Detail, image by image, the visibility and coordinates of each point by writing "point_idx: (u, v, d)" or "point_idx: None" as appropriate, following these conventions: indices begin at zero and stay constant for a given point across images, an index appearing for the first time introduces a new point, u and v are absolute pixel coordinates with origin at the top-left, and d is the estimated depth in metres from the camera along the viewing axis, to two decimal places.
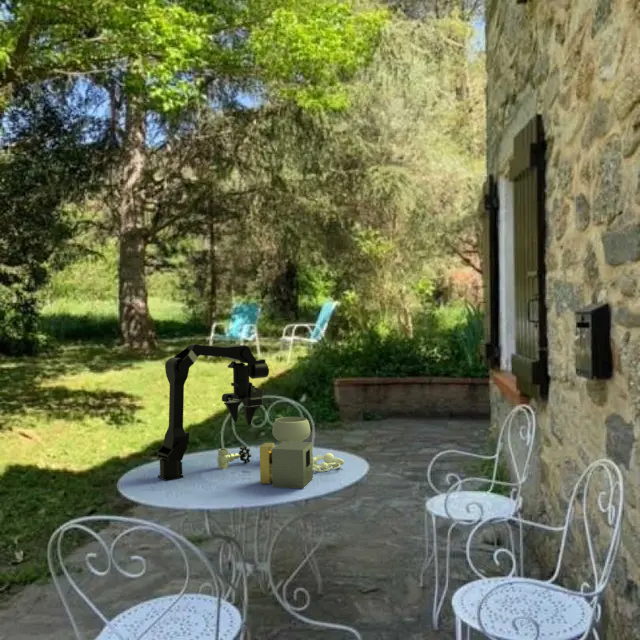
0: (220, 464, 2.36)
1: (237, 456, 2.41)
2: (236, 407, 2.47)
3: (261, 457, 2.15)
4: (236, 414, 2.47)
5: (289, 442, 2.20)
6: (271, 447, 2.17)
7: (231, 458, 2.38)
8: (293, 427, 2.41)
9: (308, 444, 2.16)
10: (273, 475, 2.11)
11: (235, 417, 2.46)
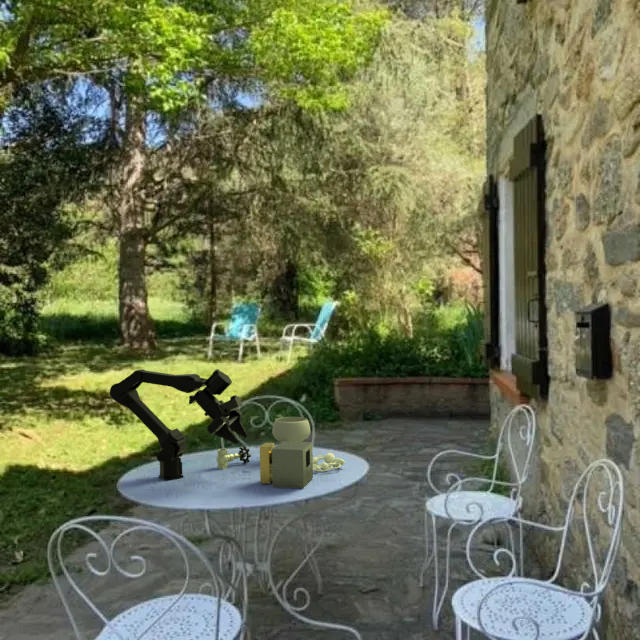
0: (219, 464, 2.36)
1: (236, 456, 2.40)
2: (239, 424, 2.25)
3: (261, 457, 2.15)
4: (242, 430, 2.24)
5: (289, 442, 2.20)
6: (271, 447, 2.17)
7: (230, 458, 2.38)
8: (293, 427, 2.41)
9: (308, 444, 2.16)
10: (273, 475, 2.11)
11: (243, 433, 2.24)
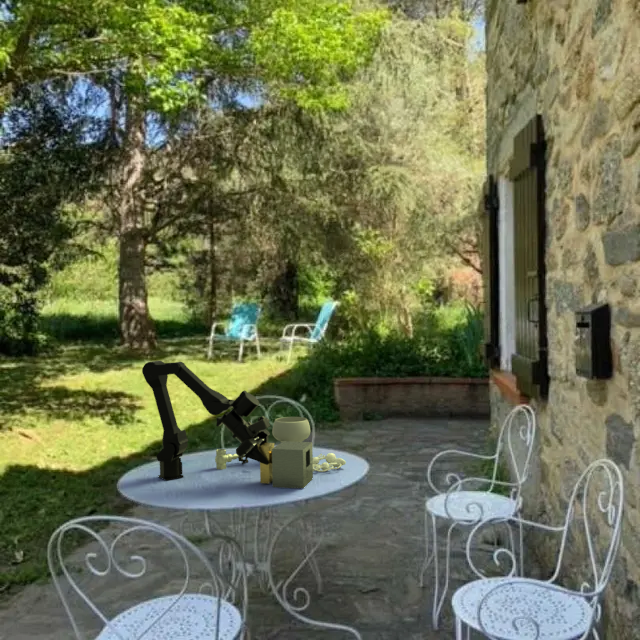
0: (218, 464, 2.36)
1: (235, 456, 2.40)
2: None
3: None
4: None
5: (289, 442, 2.20)
6: (271, 447, 2.17)
7: (229, 458, 2.38)
8: (293, 427, 2.41)
9: (308, 444, 2.16)
10: (273, 475, 2.11)
11: None
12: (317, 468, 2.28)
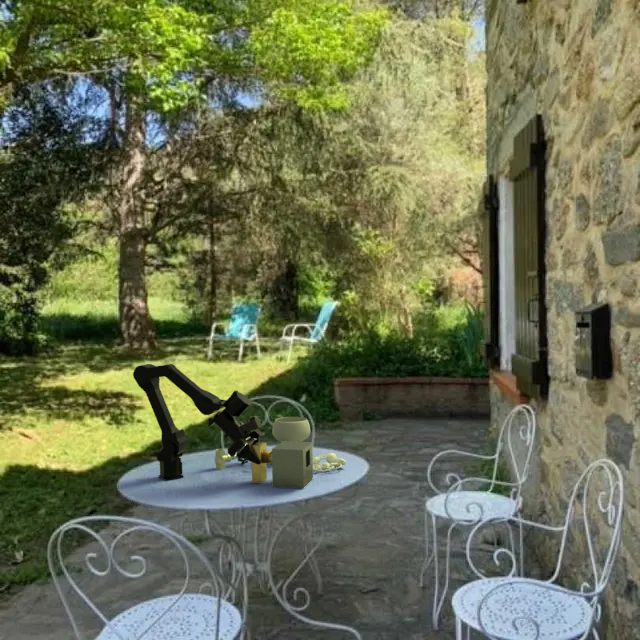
0: (217, 465, 2.35)
1: (234, 457, 2.40)
2: None
3: None
4: None
5: (289, 442, 2.20)
6: (263, 447, 2.17)
7: (228, 459, 2.38)
8: (293, 427, 2.41)
9: (308, 444, 2.16)
10: (273, 475, 2.11)
11: None
12: (317, 468, 2.28)
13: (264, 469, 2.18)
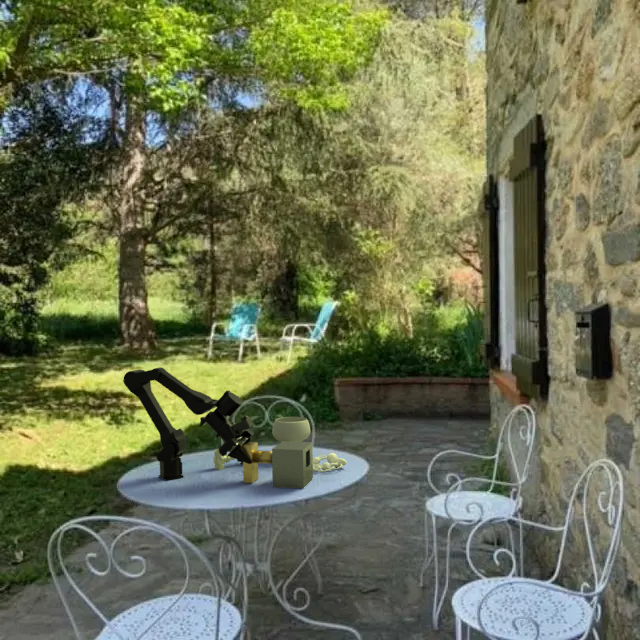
0: (216, 465, 2.35)
1: None
2: None
3: None
4: None
5: (289, 442, 2.20)
6: (254, 446, 2.18)
7: (227, 459, 2.37)
8: (293, 427, 2.41)
9: (308, 444, 2.16)
10: (273, 475, 2.11)
11: None
12: (318, 468, 2.28)
13: (255, 469, 2.19)
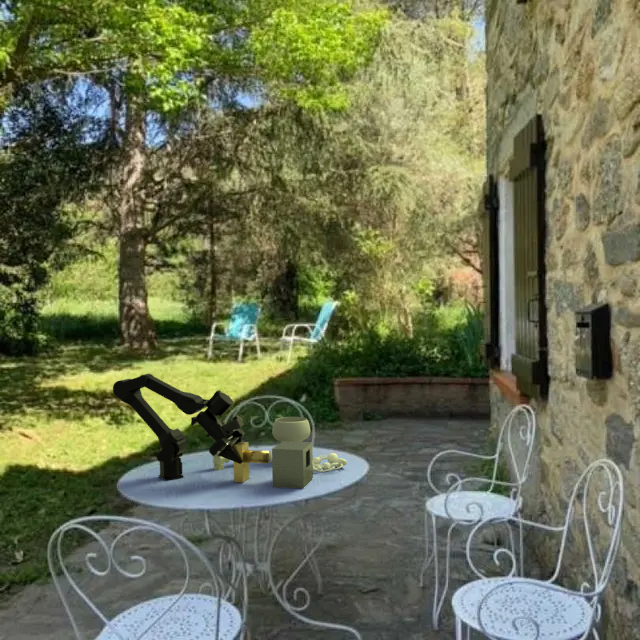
0: (215, 465, 2.35)
1: None
2: None
3: None
4: None
5: (289, 442, 2.20)
6: (245, 446, 2.19)
7: (227, 459, 2.37)
8: (293, 427, 2.41)
9: (308, 444, 2.16)
10: (273, 475, 2.11)
11: None
12: (318, 468, 2.28)
13: (246, 468, 2.20)
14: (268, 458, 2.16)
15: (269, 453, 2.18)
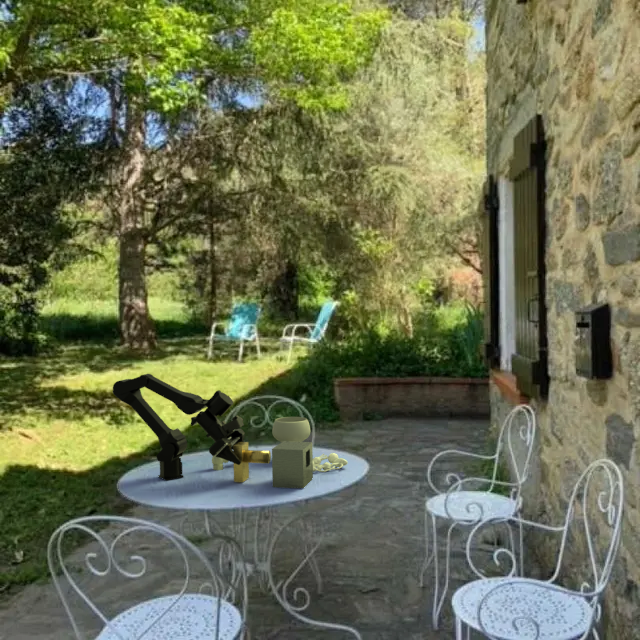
0: (215, 465, 2.35)
1: None
2: None
3: None
4: None
5: (289, 442, 2.20)
6: (245, 446, 2.19)
7: None
8: (293, 427, 2.41)
9: (308, 444, 2.16)
10: (273, 475, 2.11)
11: None
12: (318, 468, 2.28)
13: (246, 468, 2.20)
14: (267, 458, 2.16)
15: (269, 453, 2.18)
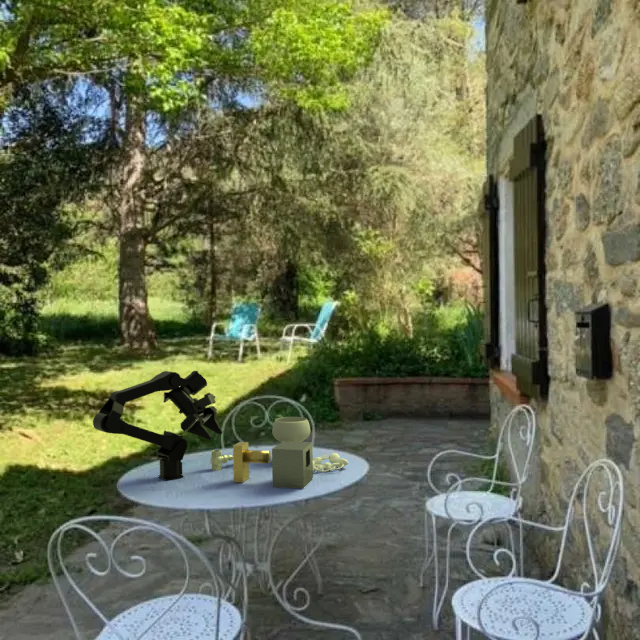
0: (213, 465, 2.34)
1: (231, 457, 2.38)
2: (213, 421, 2.30)
3: (234, 456, 2.17)
4: (217, 427, 2.29)
5: (289, 442, 2.20)
6: (245, 446, 2.19)
7: (224, 459, 2.36)
8: (293, 427, 2.41)
9: (308, 444, 2.16)
10: (273, 475, 2.11)
11: (218, 430, 2.29)
12: (319, 468, 2.28)
13: (246, 468, 2.20)
14: (267, 458, 2.16)
15: (269, 453, 2.18)
